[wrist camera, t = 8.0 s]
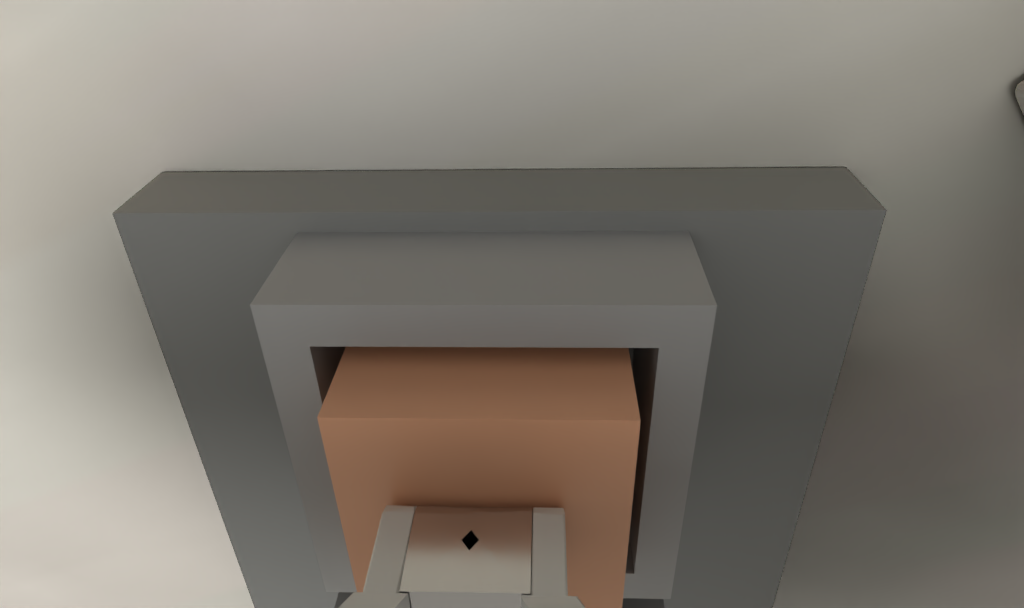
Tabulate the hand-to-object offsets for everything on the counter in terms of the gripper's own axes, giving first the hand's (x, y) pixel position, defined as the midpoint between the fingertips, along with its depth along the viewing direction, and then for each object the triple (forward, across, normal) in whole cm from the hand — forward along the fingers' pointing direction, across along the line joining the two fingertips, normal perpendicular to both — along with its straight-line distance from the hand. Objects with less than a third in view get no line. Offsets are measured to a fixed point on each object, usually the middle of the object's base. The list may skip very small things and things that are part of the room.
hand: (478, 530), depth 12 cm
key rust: (+4, 0, 0) cm, 4 cm away
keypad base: (+6, 0, +8) cm, 10 cm away
